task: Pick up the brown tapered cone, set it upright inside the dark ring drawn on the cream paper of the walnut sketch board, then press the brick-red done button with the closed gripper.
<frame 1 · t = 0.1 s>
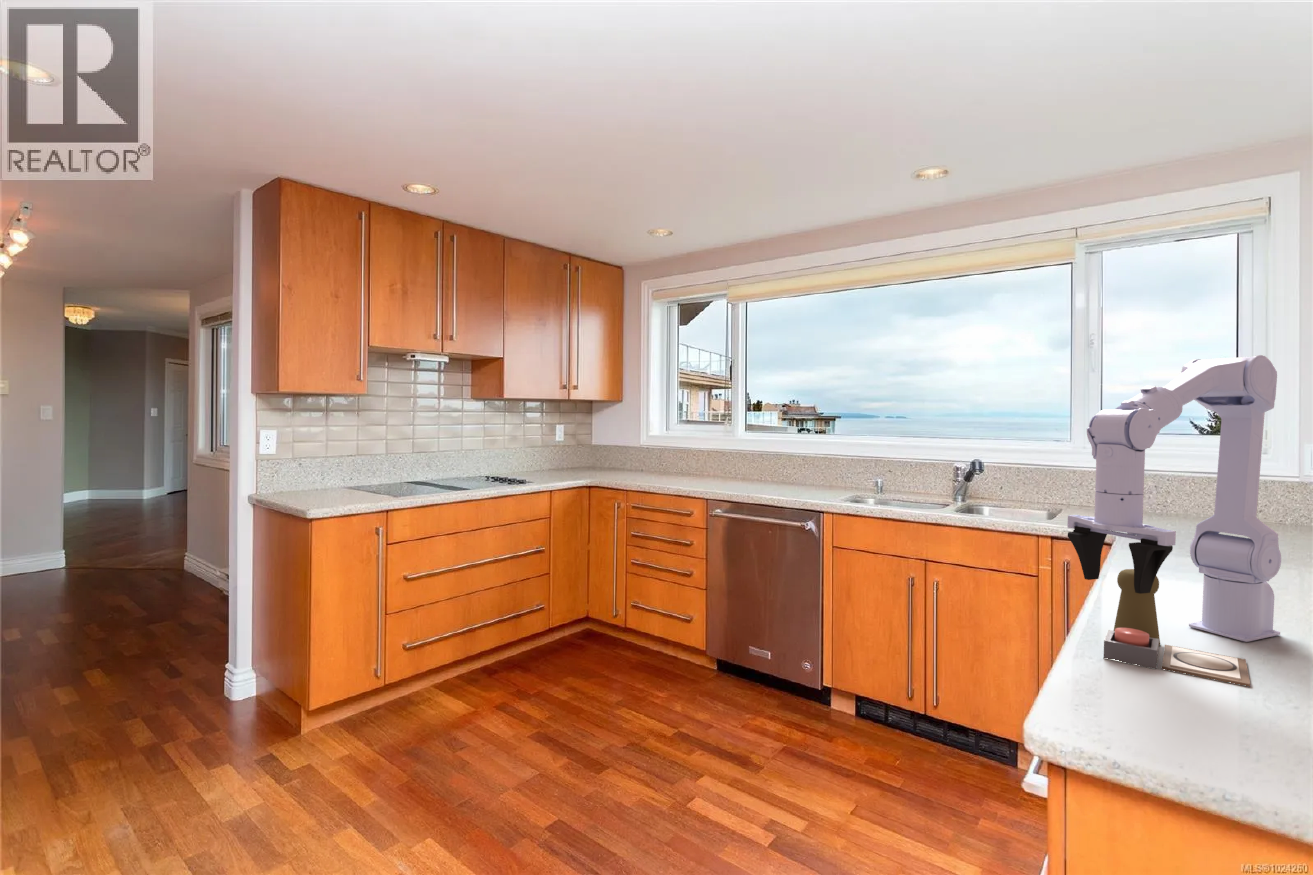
hand: (1116, 585, 95), 10 cm above the countertop, tool pointing down, fingers open, 7 cm apart
button housing: (1131, 657, 94), on the countertop
sketch board: (1204, 665, 91), on the countertop
brown tapered cone: (1135, 642, 100), on the countertop
done button: (1131, 637, 93), point 3 cm above the countertop, slide at 0.0 cm
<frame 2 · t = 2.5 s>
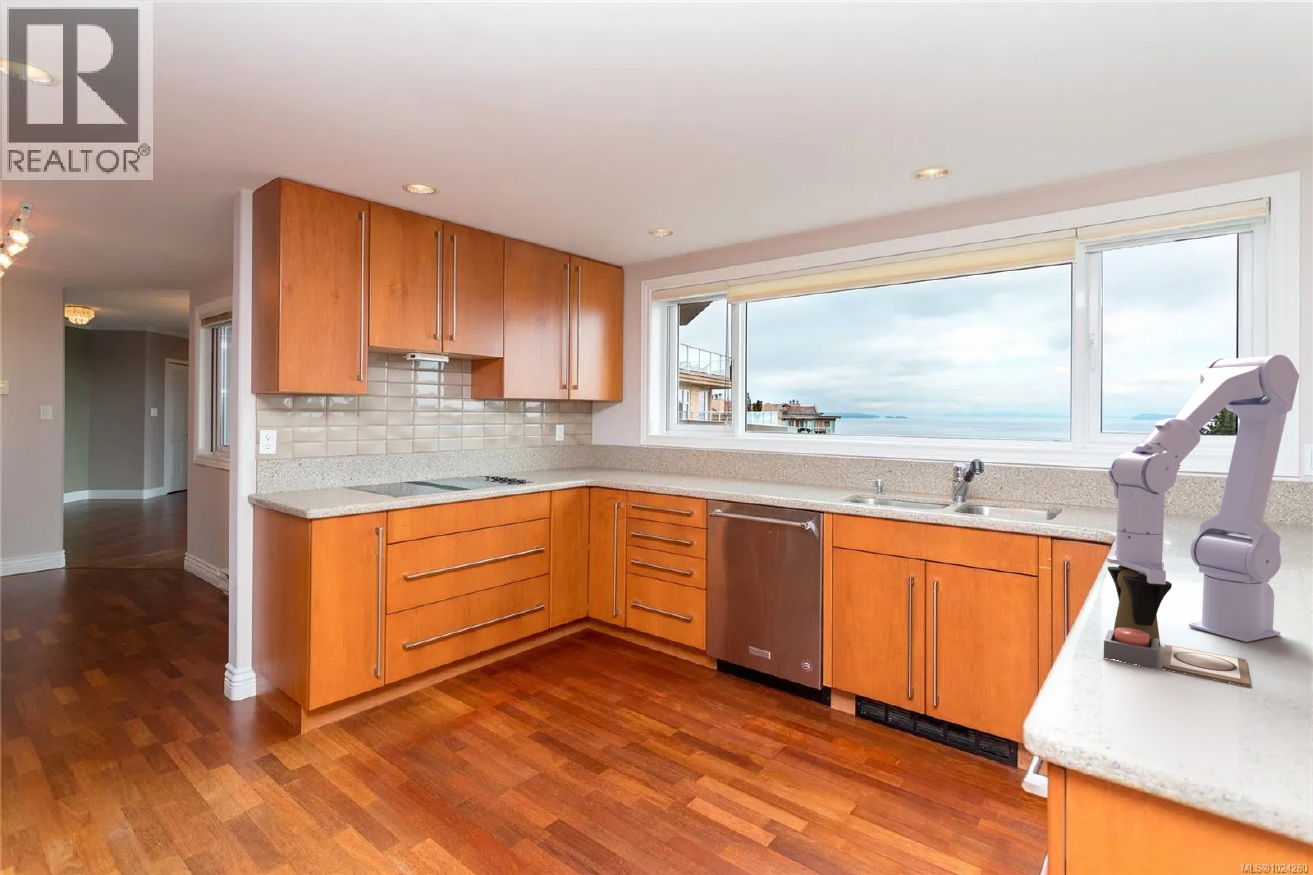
hand: (1136, 619, 100), 3 cm above the countertop, tool pointing down, fingers closed on brown tapered cone, 5 cm apart
brown tapered cone: (1135, 642, 100), on the countertop, touching gripper
everything else where it was.
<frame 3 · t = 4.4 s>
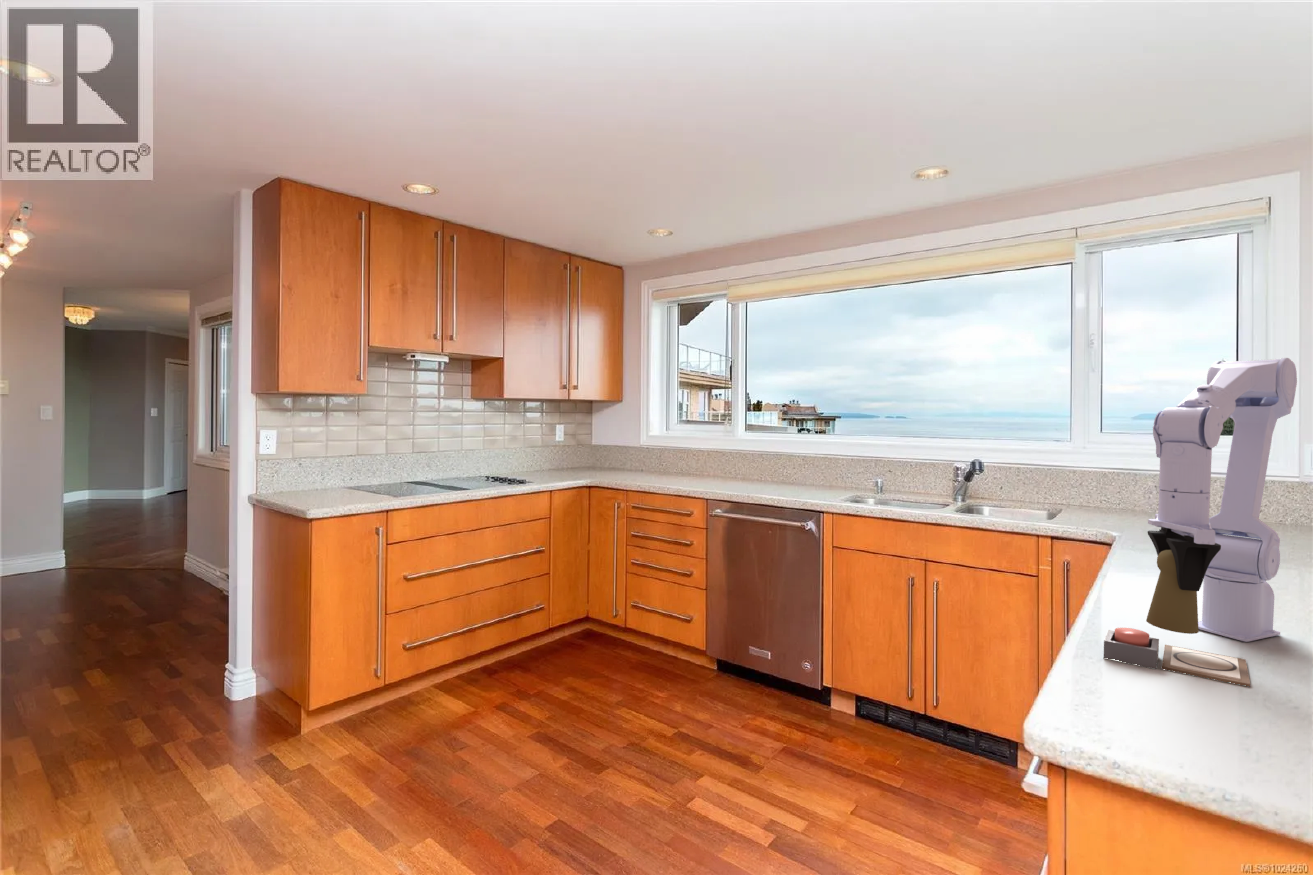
hand: (1180, 584, 94), 10 cm above the countertop, tool pointing down, fingers closed on brown tapered cone, 5 cm apart
brown tapered cone: (1171, 627, 95), point 4 cm above the countertop, touching gripper
everything else where it was.
when the fingers open (6 cm above the countertop, at t = 6.4 s): brown tapered cone stays where it is, resting on sketch board.
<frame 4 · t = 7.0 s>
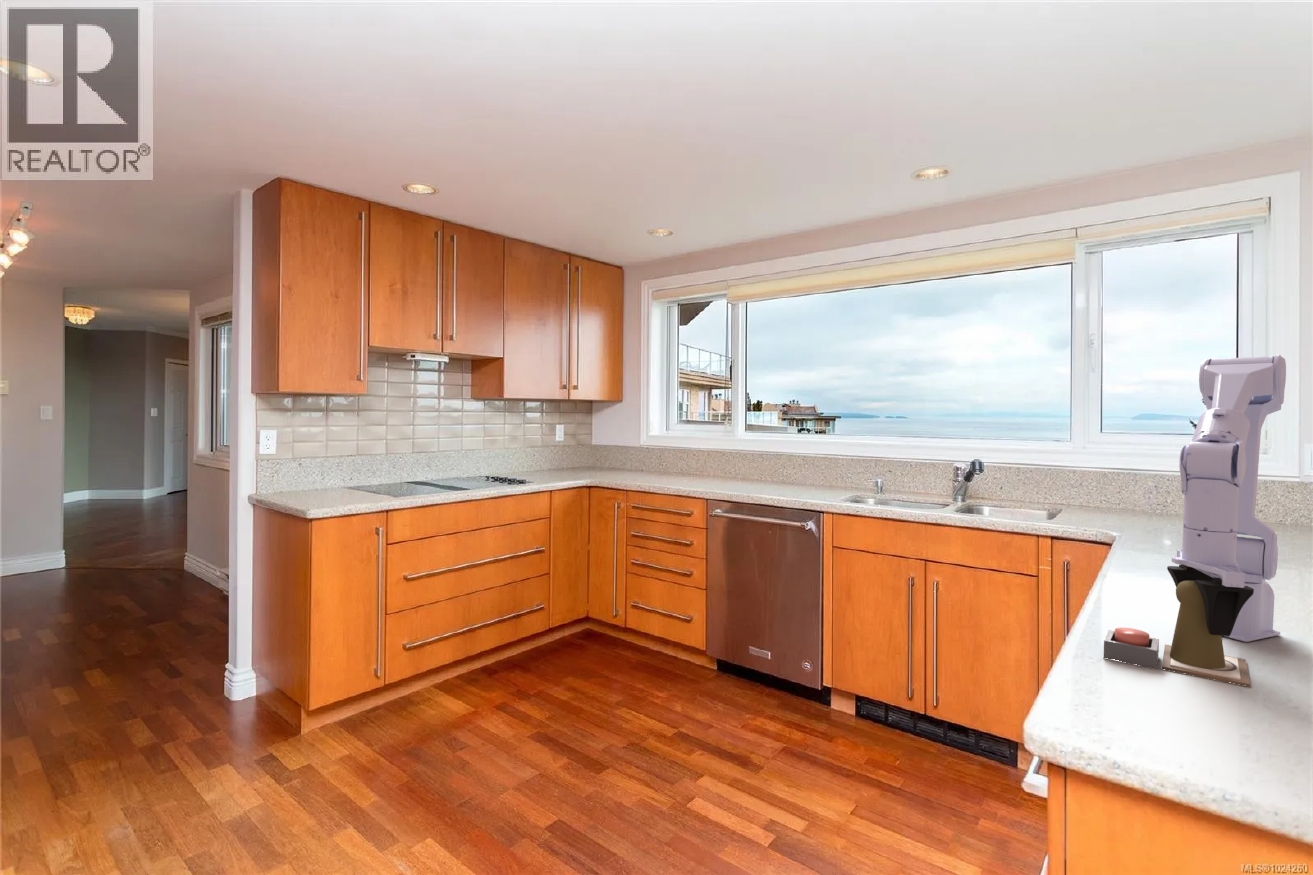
hand: (1205, 625, 91), 6 cm above the countertop, tool pointing down, fingers open, 7 cm apart
brown tapered cone: (1196, 661, 91), resting on sketch board
everything else where it was.
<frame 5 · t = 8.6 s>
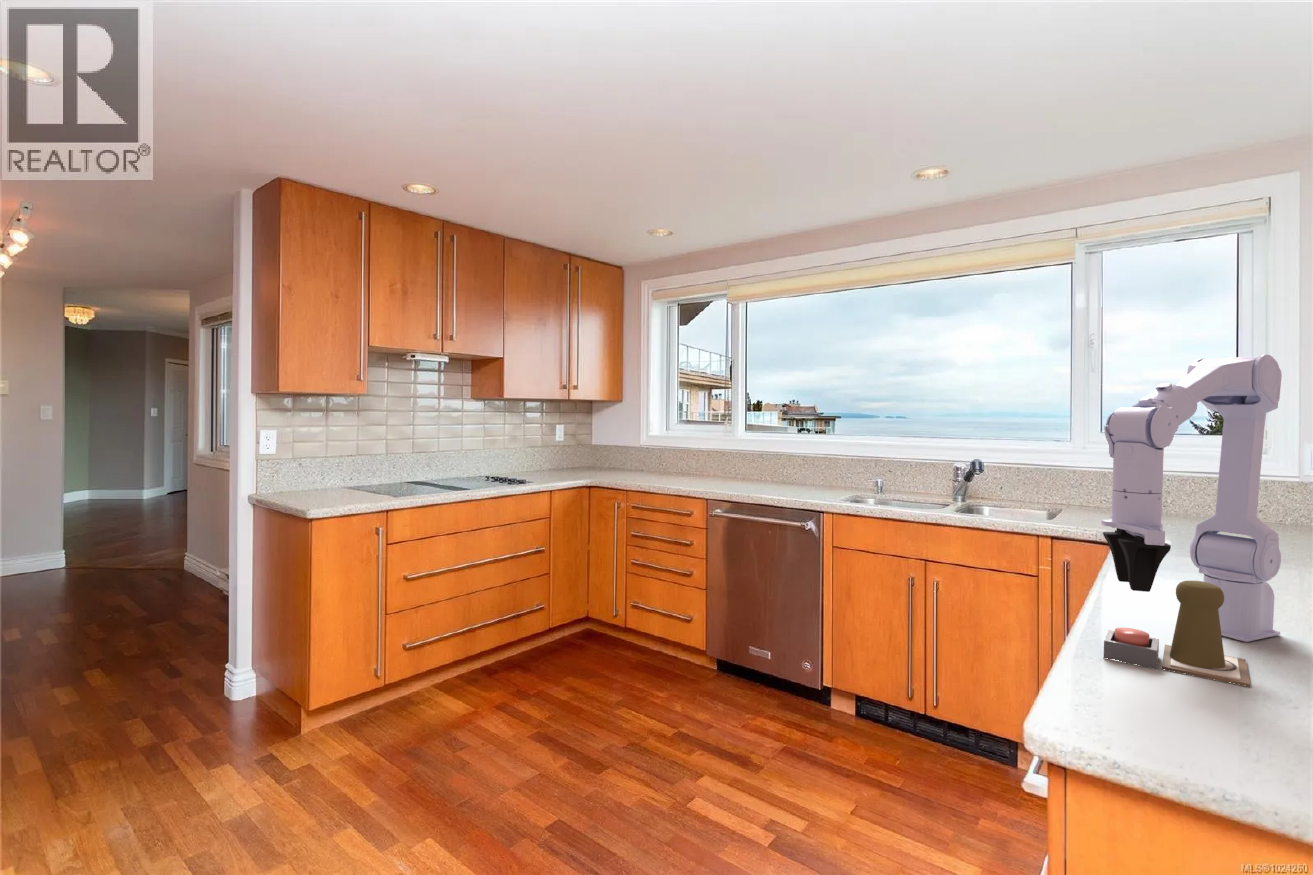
hand: (1133, 586, 93), 10 cm above the countertop, tool pointing down, fingers open, 4 cm apart
nothing on the countertop moved.
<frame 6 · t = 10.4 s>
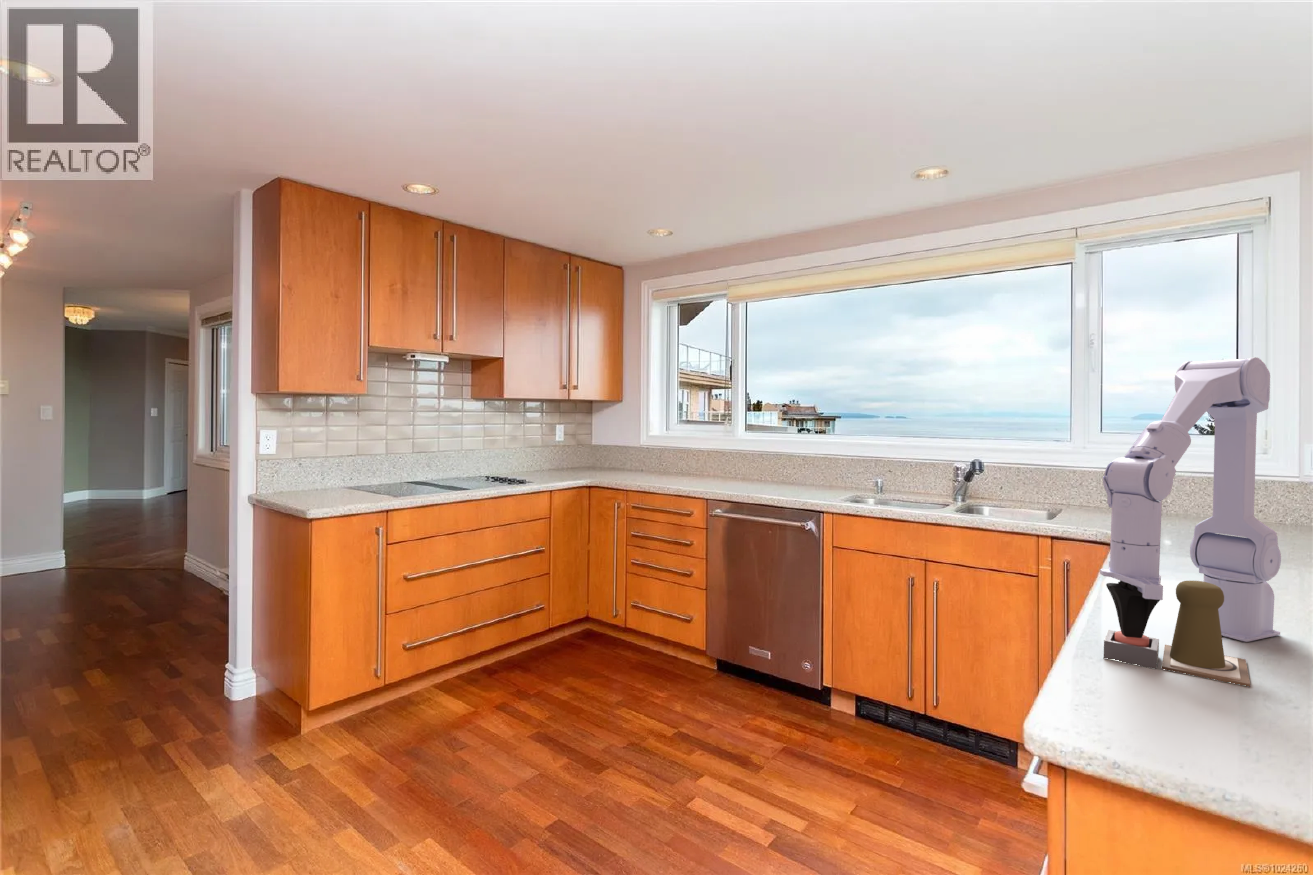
hand: (1131, 636, 93), 3 cm above the countertop, tool pointing down, fingers closed, pressing on done button
done button: (1131, 641, 93), point 2 cm above the countertop, slide at 0.5 cm, touching gripper
everything else where it was.
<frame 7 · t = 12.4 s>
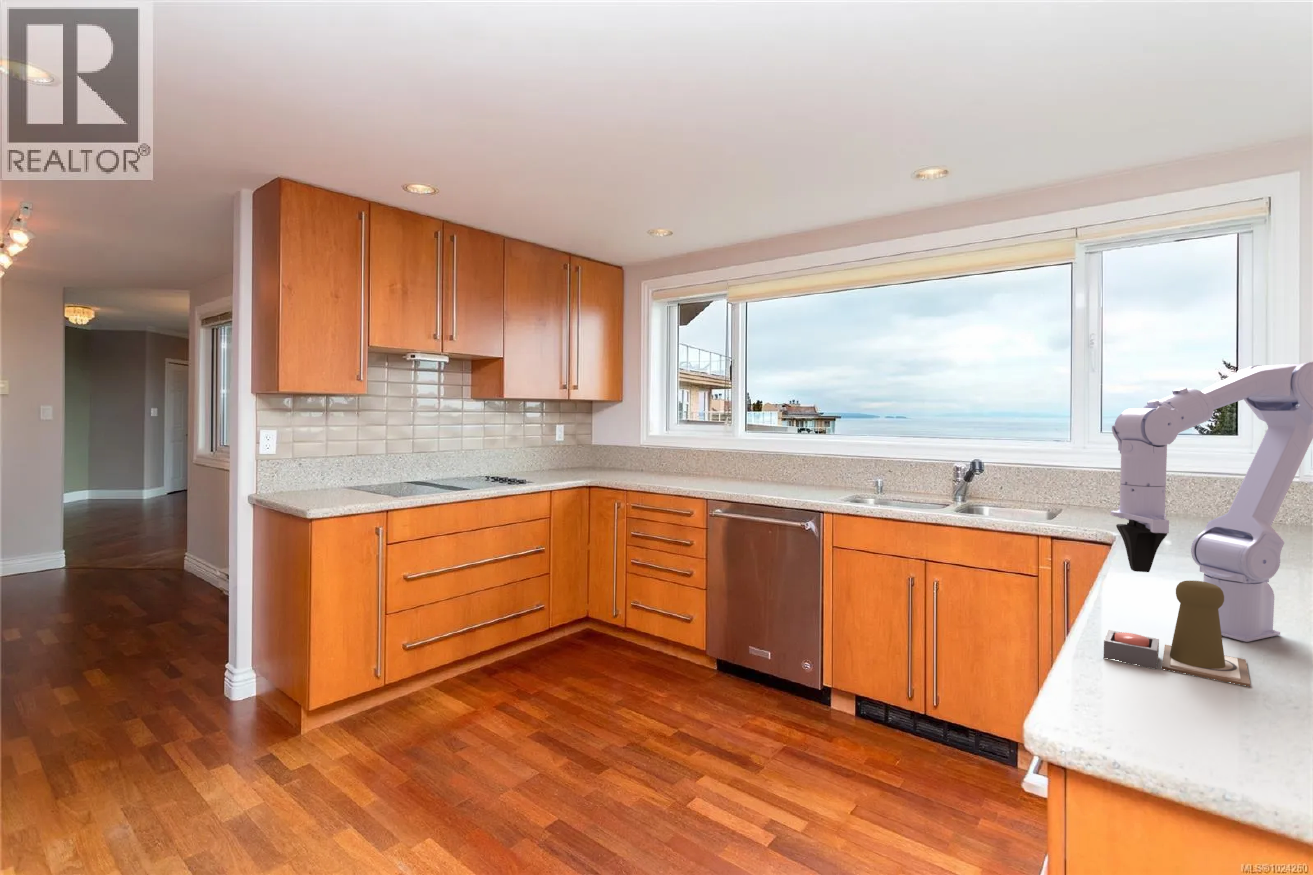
hand: (1140, 570, 102), 10 cm above the countertop, tool pointing down, fingers closed
done button: (1131, 642, 93), point 2 cm above the countertop, slide at 0.7 cm
everything else where it was.
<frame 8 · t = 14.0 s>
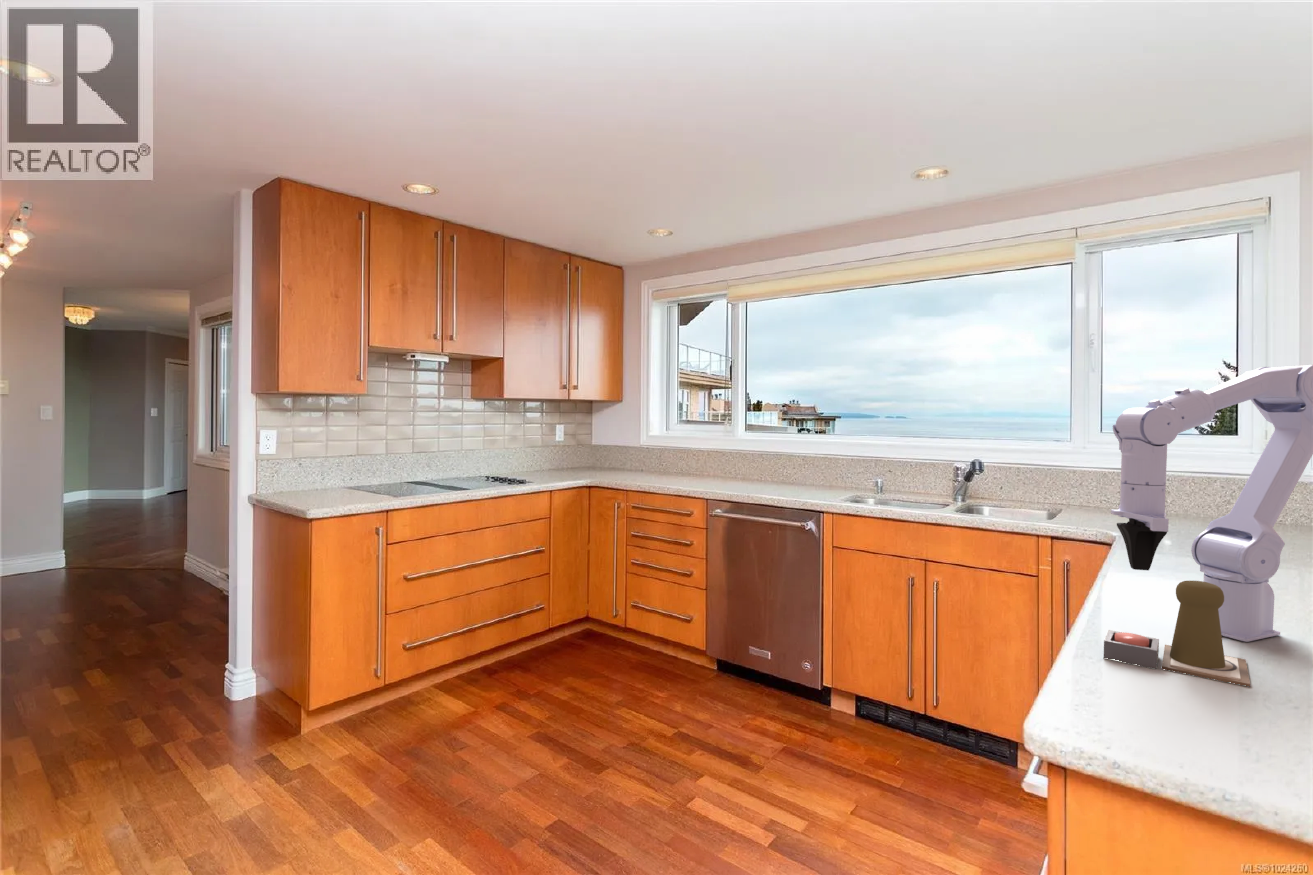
hand: (1139, 569, 103), 10 cm above the countertop, tool pointing down, fingers closed
nothing on the countertop moved.
at the end: brown tapered cone 0.9 cm off-centre on the sketch board, point 0.5 cm above the sketch board's base; brown tapered cone tilted 0°; done button slide at 0.7 cm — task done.
